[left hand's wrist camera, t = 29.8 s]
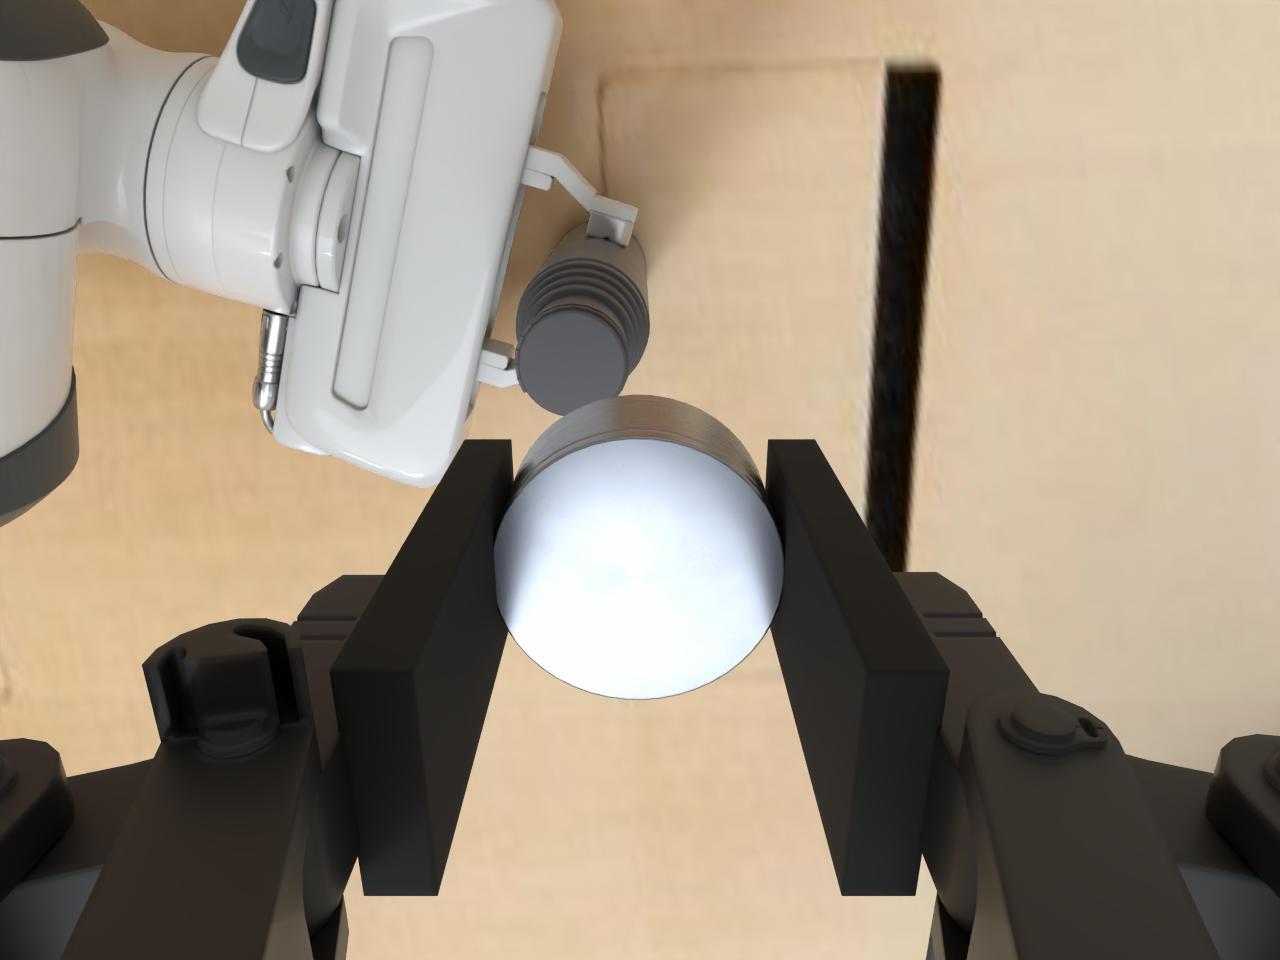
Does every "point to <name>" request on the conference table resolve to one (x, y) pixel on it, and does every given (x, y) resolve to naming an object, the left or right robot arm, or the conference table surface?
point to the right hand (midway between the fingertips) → (614, 296)
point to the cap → (638, 550)
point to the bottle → (582, 322)
